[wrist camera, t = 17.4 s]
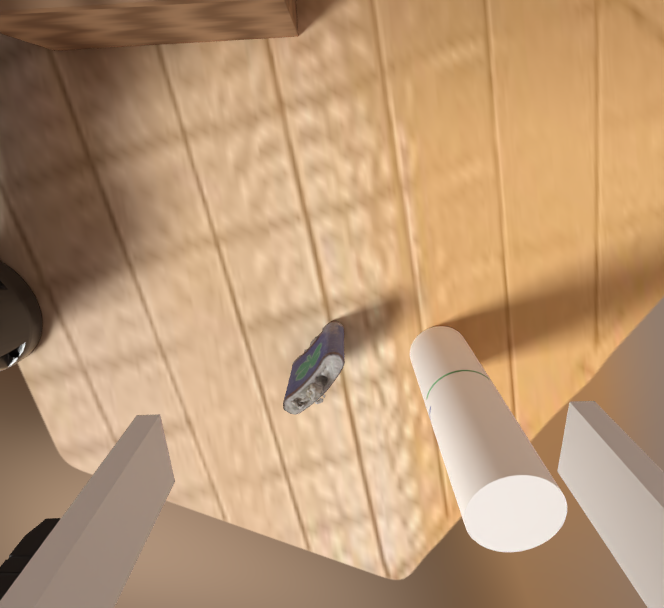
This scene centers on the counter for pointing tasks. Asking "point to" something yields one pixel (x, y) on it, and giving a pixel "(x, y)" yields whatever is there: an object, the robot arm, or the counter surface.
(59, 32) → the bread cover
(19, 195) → the counter surface
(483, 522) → the cylindrical container
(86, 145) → the counter surface
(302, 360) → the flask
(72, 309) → the counter surface
